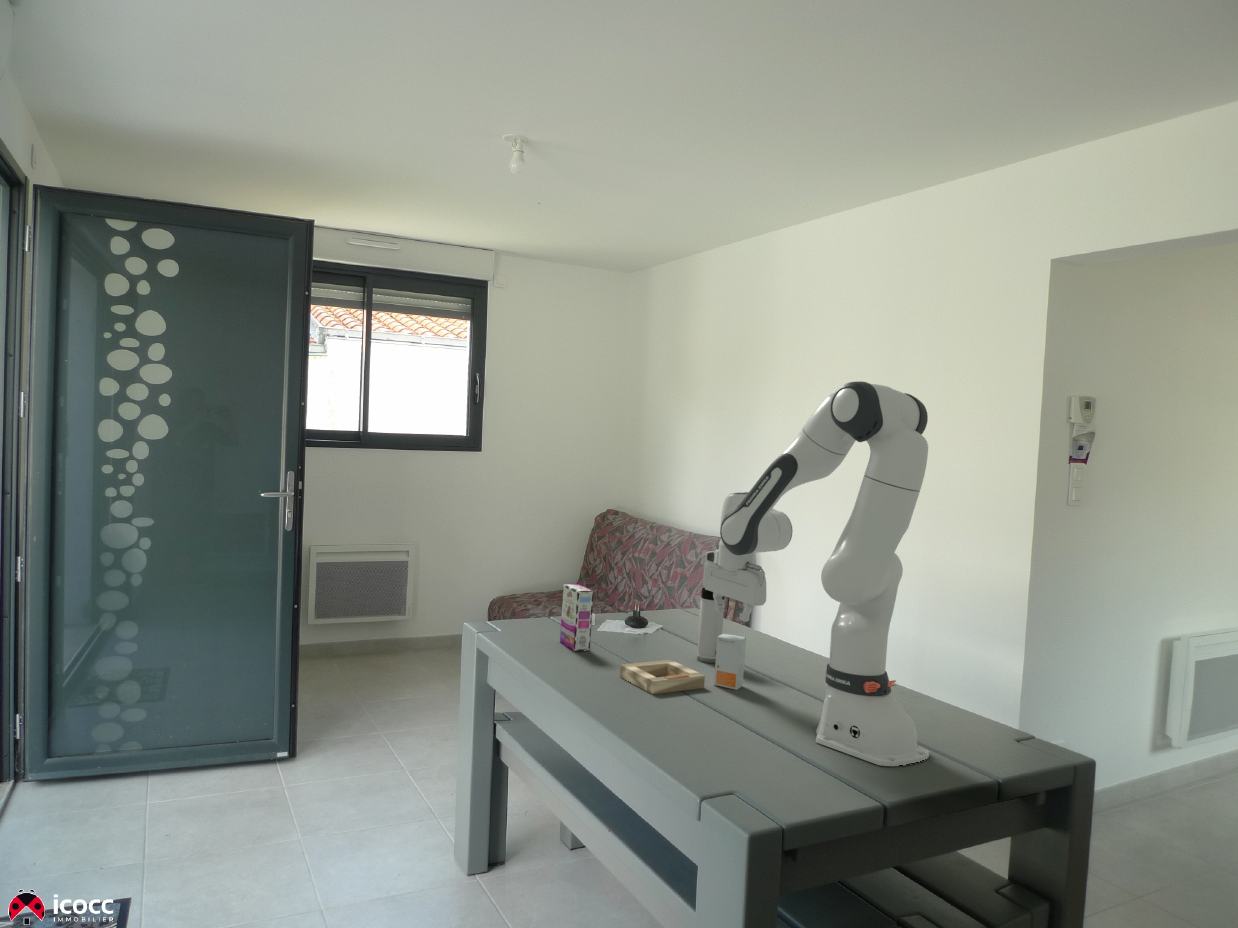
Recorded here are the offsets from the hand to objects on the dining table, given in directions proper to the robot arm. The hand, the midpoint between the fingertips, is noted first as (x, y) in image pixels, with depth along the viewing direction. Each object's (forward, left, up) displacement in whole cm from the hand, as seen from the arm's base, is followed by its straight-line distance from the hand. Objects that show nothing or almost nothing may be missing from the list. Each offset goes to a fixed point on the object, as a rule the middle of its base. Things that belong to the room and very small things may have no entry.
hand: (731, 616), depth 205 cm
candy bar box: (+45, +18, -17) cm, 51 cm away
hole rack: (+8, +14, -17) cm, 23 cm away
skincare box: (0, 0, -17) cm, 17 cm away
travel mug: (+21, -10, -17) cm, 29 cm away
